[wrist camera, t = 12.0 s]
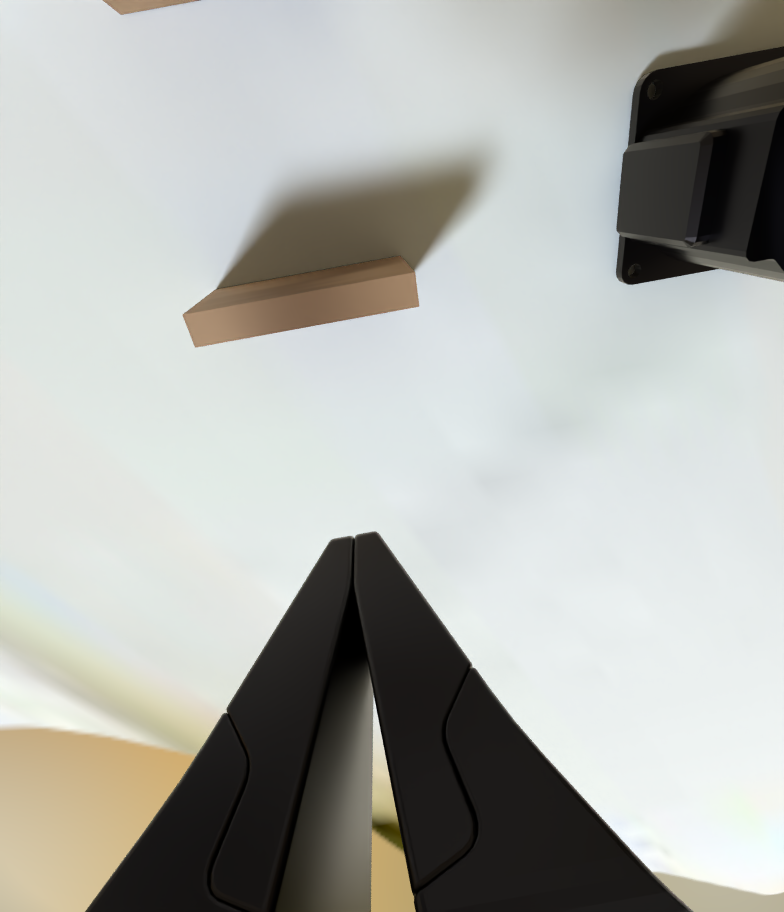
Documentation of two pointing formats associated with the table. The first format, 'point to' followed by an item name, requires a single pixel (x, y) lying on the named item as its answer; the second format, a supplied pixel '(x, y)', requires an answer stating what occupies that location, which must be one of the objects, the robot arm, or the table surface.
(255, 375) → the table surface
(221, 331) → the wooden blocks
